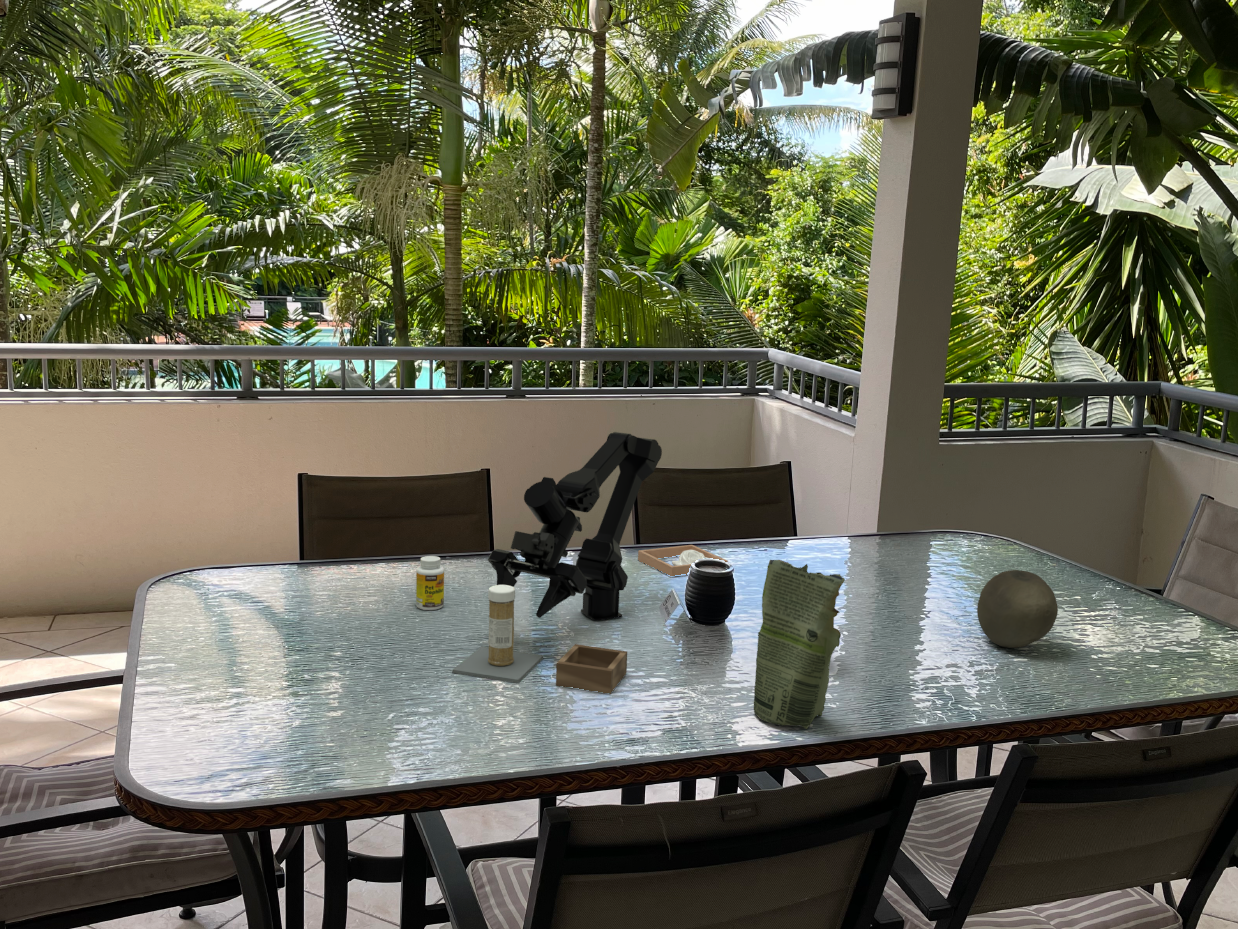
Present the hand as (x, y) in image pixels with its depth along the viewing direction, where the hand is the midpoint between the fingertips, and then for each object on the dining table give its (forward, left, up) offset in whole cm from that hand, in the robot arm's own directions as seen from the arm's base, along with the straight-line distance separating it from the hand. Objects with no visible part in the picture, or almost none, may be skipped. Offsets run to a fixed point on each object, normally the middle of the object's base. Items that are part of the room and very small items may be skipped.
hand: (516, 611), depth 175 cm
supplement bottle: (+5, -33, -9) cm, 34 cm away
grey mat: (+4, +2, -9) cm, 10 cm away
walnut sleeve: (-8, +14, -9) cm, 19 cm away
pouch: (-30, +40, -9) cm, 51 cm away
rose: (-62, -38, -9) cm, 73 cm away
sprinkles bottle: (+4, +2, -8) cm, 9 cm away
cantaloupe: (-90, +32, -9) cm, 96 cm away
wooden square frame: (-60, -40, -9) cm, 72 cm away
